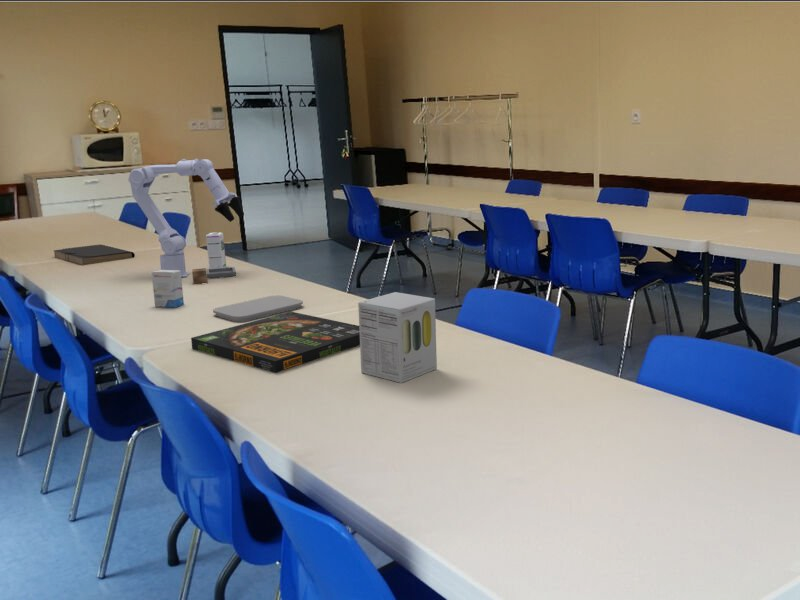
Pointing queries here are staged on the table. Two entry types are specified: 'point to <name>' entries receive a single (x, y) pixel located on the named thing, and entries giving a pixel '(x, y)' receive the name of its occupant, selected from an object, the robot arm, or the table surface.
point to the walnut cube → (199, 276)
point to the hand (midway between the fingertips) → (237, 218)
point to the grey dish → (221, 272)
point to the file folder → (92, 254)
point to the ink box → (167, 288)
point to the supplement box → (397, 336)
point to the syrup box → (216, 250)
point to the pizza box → (280, 341)
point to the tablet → (257, 308)
